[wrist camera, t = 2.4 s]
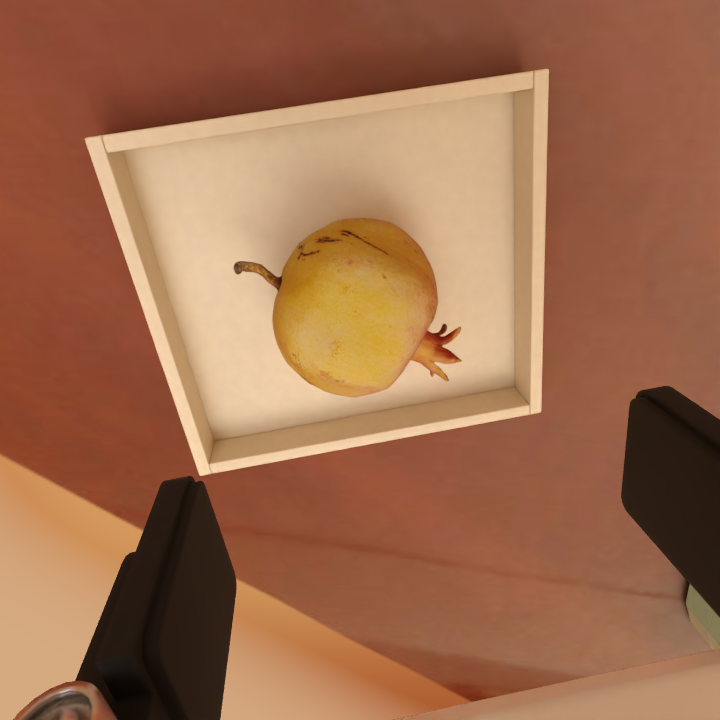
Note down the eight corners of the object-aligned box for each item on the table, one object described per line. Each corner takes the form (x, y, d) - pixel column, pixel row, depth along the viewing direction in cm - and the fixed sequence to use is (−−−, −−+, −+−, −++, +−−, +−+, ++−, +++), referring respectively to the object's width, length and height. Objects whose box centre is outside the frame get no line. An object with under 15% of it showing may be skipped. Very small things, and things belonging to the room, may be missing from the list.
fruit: (184, 373, 18) (417, 467, 21) (256, 210, 15) (527, 350, 17) (227, 281, 24) (408, 366, 27) (287, 146, 20) (490, 260, 23)
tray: (206, 449, 27) (199, 476, 25) (104, 136, 20) (83, 137, 18) (523, 391, 28) (541, 412, 26) (524, 73, 21) (549, 68, 19)
